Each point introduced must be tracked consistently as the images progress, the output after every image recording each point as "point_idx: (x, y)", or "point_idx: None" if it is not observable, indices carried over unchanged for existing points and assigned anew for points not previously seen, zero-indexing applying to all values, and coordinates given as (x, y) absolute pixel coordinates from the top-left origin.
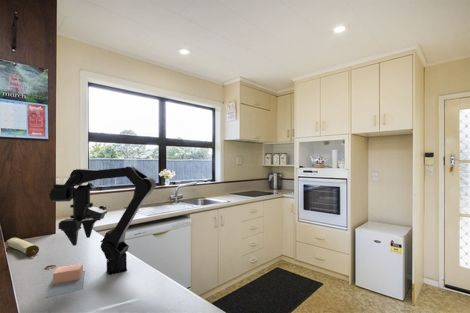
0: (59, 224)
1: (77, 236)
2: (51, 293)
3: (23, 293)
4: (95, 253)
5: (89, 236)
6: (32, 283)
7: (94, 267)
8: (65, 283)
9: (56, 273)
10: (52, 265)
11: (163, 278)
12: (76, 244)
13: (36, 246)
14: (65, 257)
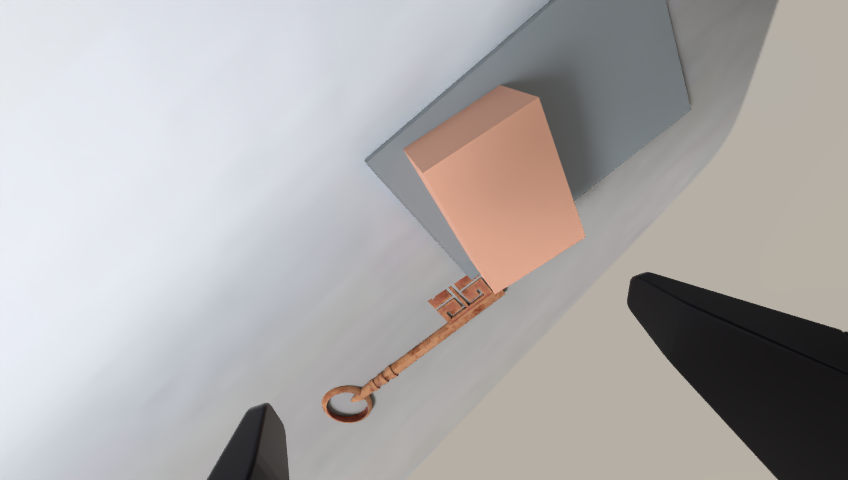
0: None
1: (809, 348)
2: (655, 116)
3: (603, 263)
4: (8, 373)
5: (263, 419)
6: (517, 315)
7: (271, 148)
8: (553, 136)
9: (578, 222)
10: (329, 413)
11: None
12: (642, 278)
13: None
14: (196, 462)
